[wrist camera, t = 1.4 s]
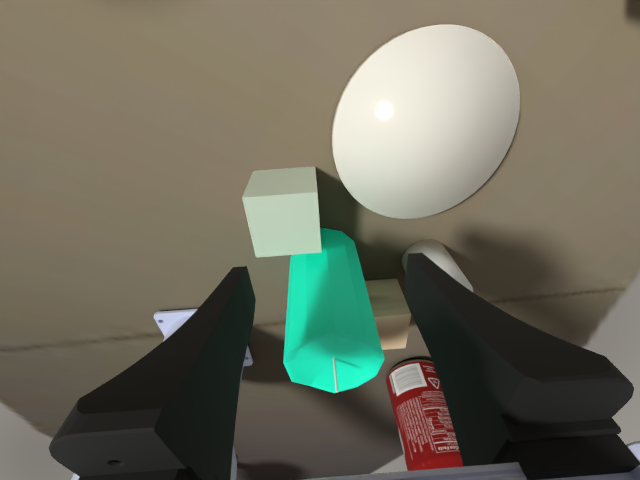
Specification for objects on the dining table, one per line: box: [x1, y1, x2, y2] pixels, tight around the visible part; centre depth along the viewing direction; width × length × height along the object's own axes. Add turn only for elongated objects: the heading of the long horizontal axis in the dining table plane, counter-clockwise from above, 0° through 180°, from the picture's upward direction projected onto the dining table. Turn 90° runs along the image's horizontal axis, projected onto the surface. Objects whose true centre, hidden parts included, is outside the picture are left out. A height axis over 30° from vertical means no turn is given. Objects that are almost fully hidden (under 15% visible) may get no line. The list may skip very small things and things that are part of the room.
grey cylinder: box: [402, 240, 473, 292], centre depth 24 cm, size 4×4×5 cm
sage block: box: [242, 167, 322, 257], centre depth 20 cm, size 4×4×4 cm
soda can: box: [386, 359, 464, 471], centre depth 31 cm, size 7×7×12 cm
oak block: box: [365, 278, 411, 350], centre depth 27 cm, size 4×4×4 cm
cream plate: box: [331, 25, 520, 219], centre depth 19 cm, size 12×12×1 cm
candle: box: [283, 228, 385, 393], centre depth 20 cm, size 6×6×12 cm
